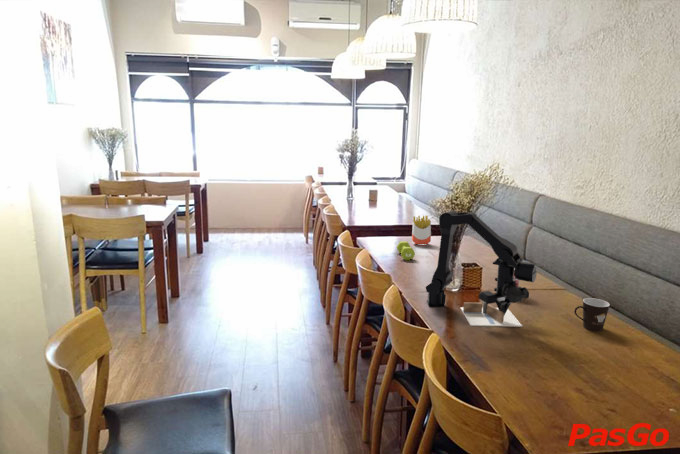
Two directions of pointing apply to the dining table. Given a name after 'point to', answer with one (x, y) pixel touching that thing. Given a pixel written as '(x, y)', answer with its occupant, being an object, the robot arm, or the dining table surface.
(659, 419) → the dining table surface
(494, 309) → the fold panel
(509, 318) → the card
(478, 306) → the fixed panel
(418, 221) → the french fries container
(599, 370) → the dining table surface
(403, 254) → the dumbbell
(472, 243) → the dining table surface
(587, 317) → the coffee mug
